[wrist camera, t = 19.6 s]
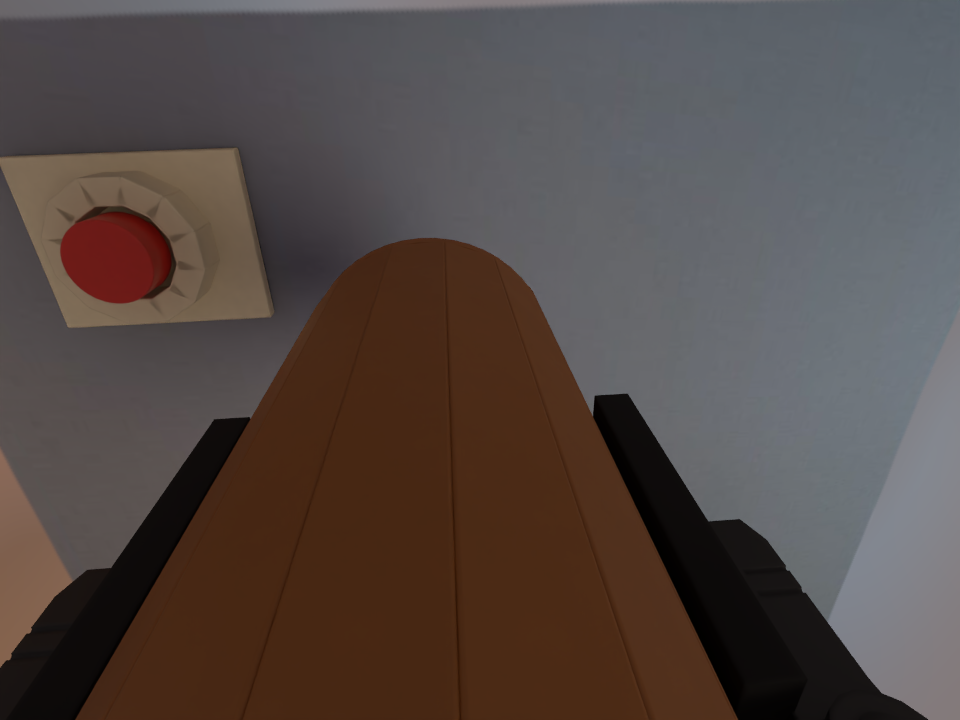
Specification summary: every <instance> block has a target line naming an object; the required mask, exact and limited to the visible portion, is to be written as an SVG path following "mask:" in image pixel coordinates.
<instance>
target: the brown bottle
mask: <svg viewBox="0 0 960 720" xmlns="http://www.w3.org/2000/svg"><path fill="white" fill-rule="evenodd" d="M75 720H738V719H737V717H736V714H735V712H734V710H733V708H732V706H731V704H730V702H729V700H728V698H727V696H726V694H725V692H724V689H723V687H722V685H721V683H720V681H719V679H718V677H717V675H716V673H715V671H714V669H713V666H712V664H711V662H710V660H709V658H708V656H707V654H706V652H705V650H704V648H703V646H702V643H701V641H700V639H699V637H698V635H697V633H696V631H695V629H694V627H693V625H692V623H691V621H690V618H689V616H688V614H687V612H686V610H685V608H684V606H683V604H682V602H681V600H680V598H679V595H678V593H677V591H676V589H675V587H674V585H673V583H672V581H671V579H670V577H669V575H668V573H667V570H666V568H665V566H664V564H663V562H662V560H661V558H660V556H659V554H658V552H657V550H656V547H655V545H654V543H653V541H652V539H651V537H650V535H649V533H648V531H647V529H646V527H645V525H644V522H643V520H642V518H641V516H640V514H639V512H638V510H637V508H636V506H635V504H634V502H633V499H632V497H631V495H630V493H629V491H628V489H627V487H626V485H625V483H624V481H623V479H622V476H621V474H620V472H619V470H618V468H617V466H616V464H615V462H614V460H613V458H612V456H611V454H610V451H609V449H608V447H607V445H606V443H605V441H604V439H603V437H602V435H601V433H600V431H599V428H598V426H597V424H596V422H595V420H594V418H593V416H592V414H591V412H590V410H589V408H588V406H587V403H586V401H585V399H584V397H583V395H582V393H581V391H580V389H579V387H578V385H577V383H576V380H575V378H574V376H573V374H572V372H571V370H570V368H569V366H568V364H567V362H566V360H565V357H564V355H563V353H562V351H561V349H560V347H559V345H558V343H557V341H556V339H555V337H554V335H553V332H552V330H551V328H550V326H549V324H548V322H547V320H546V318H545V316H544V314H543V312H542V309H541V307H540V305H539V303H538V301H537V299H536V297H535V295H534V293H533V291H532V290H531V288H530V287H529V286H528V285H527V284H526V283H525V282H524V280H523V279H522V278H521V277H520V276H519V275H518V274H517V273H516V272H515V271H514V270H513V269H512V268H511V267H510V266H508V265H507V264H506V263H504V262H503V261H502V260H500V259H499V258H497V257H496V256H494V255H492V254H490V253H488V252H487V251H485V250H483V249H480V248H478V247H475V246H472V245H470V244H467V243H463V242H459V241H455V240H448V239H440V238H417V239H410V240H404V241H399V242H396V243H392V244H389V245H385V246H383V247H381V248H379V249H376V250H374V251H372V252H370V253H368V254H366V255H365V256H363V257H362V258H360V259H358V260H357V261H355V262H354V263H353V264H352V265H351V266H349V267H348V268H347V269H346V270H345V271H344V272H343V273H342V274H341V275H340V276H339V277H338V278H337V279H336V280H335V282H334V283H333V284H332V286H331V287H330V289H329V290H328V292H327V293H326V295H325V296H324V297H323V298H322V300H321V301H320V302H319V304H318V305H317V306H316V308H315V310H314V311H313V313H312V315H311V316H310V318H309V320H308V322H307V323H306V325H305V327H304V328H303V330H302V332H301V334H300V335H299V337H298V339H297V340H296V342H295V344H294V346H293V347H292V349H291V351H290V352H289V354H288V356H287V358H286V359H285V361H284V363H283V364H282V366H281V368H280V370H279V371H278V373H277V375H276V376H275V378H274V380H273V382H272V383H271V385H270V387H269V388H268V390H267V392H266V394H265V395H264V397H263V399H262V400H261V402H260V404H259V406H258V407H257V409H256V411H255V412H254V414H253V416H252V418H251V419H250V421H249V423H248V424H247V426H246V428H245V430H244V431H243V433H242V435H241V436H240V438H239V440H238V442H237V443H236V445H235V447H234V448H233V450H232V452H231V454H230V455H229V457H228V459H227V460H226V462H225V464H224V466H223V467H222V469H221V471H220V472H219V474H218V476H217V478H216V479H215V481H214V483H213V484H212V486H211V488H210V490H209V491H208V493H207V495H206V496H205V498H204V500H203V502H202V503H201V505H200V507H199V508H198V510H197V512H196V514H195V515H194V517H193V519H192V520H191V522H190V524H189V526H188V527H187V529H186V531H185V532H184V534H183V536H182V538H181V539H180V541H179V543H178V544H177V546H176V548H175V550H174V551H173V553H172V555H171V556H170V558H169V560H168V562H167V563H166V565H165V567H164V568H163V570H162V572H161V574H160V575H159V577H158V579H157V580H156V582H155V584H154V586H153V587H152V589H151V591H150V592H149V594H148V596H147V598H146V599H145V601H144V603H143V604H142V606H141V608H140V610H139V611H138V613H137V615H136V616H135V618H134V620H133V622H132V623H131V625H130V627H129V628H128V630H127V632H126V634H125V635H124V637H123V639H122V640H121V642H120V644H119V646H118V647H117V649H116V651H115V652H114V654H113V656H112V658H111V659H110V661H109V663H108V664H107V666H106V668H105V670H104V671H103V673H102V675H101V676H100V678H99V680H98V682H97V683H96V685H95V687H94V688H93V690H92V692H91V694H90V695H89V697H88V699H87V700H86V702H85V704H84V706H83V707H82V709H81V711H80V712H79V714H78V716H77V718H76V719H75Z"/></svg>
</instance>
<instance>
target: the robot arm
mask: <svg viewBox="0 0 960 720" xmlns="http://www.w3.org/2000/svg"><path fill="white" fill-rule="evenodd" d="M593 418H594V420H595V422H596V424H597V426H598V428H599V431H600V433H601V435H602V437H603V439H604V441H605V443H606V445H607V447H608V449H609V451H610V454H611V456H612V458H613V460H614V462H615V464H616V466H617V468H618V470H619V472H620V474H621V476H622V479H623V481H624V483H625V485H626V487H627V489H628V491H629V493H630V495H631V497H632V499H633V502H634V504H635V506H636V508H637V510H638V512H639V514H640V516H641V518H642V520H643V522H644V525H645V527H646V529H647V531H648V533H649V535H650V537H651V539H652V541H653V543H654V545H655V547H656V550H657V552H658V554H659V556H660V558H661V560H662V562H663V564H664V566H665V568H666V570H667V573H668V575H669V577H670V579H671V581H672V583H673V585H674V587H675V589H676V591H677V593H678V595H679V598H680V600H681V602H682V604H683V606H684V608H685V610H686V612H687V614H688V616H689V618H690V621H691V623H692V625H693V627H694V629H695V631H696V633H697V635H698V637H699V639H700V641H701V643H702V646H703V648H704V650H705V652H706V654H707V656H708V658H709V660H710V662H711V664H712V666H713V669H714V671H715V673H716V675H717V677H718V679H719V681H720V683H721V685H722V687H723V689H724V692H725V694H726V696H727V698H728V700H729V702H730V704H731V706H732V708H733V710H734V712H735V714H736V717H737V719H738V720H928V719H927V718H925V717H924V716H922V715H921V714H919V713H918V712H916V711H915V710H914V709H912V708H911V707H909V706H908V705H906V704H905V703H903V702H902V701H899V700H897V699H894V698H892V697H889V696H887V695H884V694H882V693H881V692H880V691H879V690H878V689H877V687H876V686H875V685H874V684H873V683H872V682H871V680H870V679H869V678H868V677H867V675H866V674H865V673H864V671H863V670H862V669H861V667H860V666H859V665H858V663H857V662H856V660H855V659H854V658H853V657H852V656H851V654H850V652H849V651H848V650H847V648H846V647H845V646H844V644H843V643H842V642H841V640H840V639H839V637H838V636H837V635H836V634H835V632H834V631H833V629H832V628H831V627H830V625H829V624H828V622H827V621H826V620H825V618H824V617H823V616H822V614H821V613H820V612H819V610H818V609H817V608H816V606H815V605H814V603H813V602H812V601H811V599H810V598H809V597H808V595H807V594H806V593H803V592H802V589H801V586H800V584H799V583H798V582H797V580H796V579H795V578H794V576H793V575H792V574H791V572H790V571H787V570H786V565H785V564H784V563H783V561H782V560H781V559H780V557H779V556H778V555H777V553H776V552H775V551H774V549H773V548H772V546H771V545H770V544H769V542H768V541H767V540H766V539H765V538H763V537H762V536H761V535H760V534H758V533H757V532H756V531H754V530H753V529H752V528H750V527H749V526H748V525H747V524H745V523H744V522H743V521H741V520H740V519H737V520H723V521H710V522H708V520H707V519H706V517H705V516H704V514H703V512H702V511H701V509H700V508H699V506H698V504H697V503H696V501H695V500H694V498H693V497H692V495H691V493H690V492H689V490H688V489H687V487H686V485H685V484H684V482H683V481H682V479H681V478H680V476H679V474H678V473H677V471H676V470H675V468H674V466H673V465H672V463H671V462H670V460H669V459H668V457H667V455H666V454H665V452H664V451H663V449H662V447H661V446H660V444H659V443H658V441H657V440H656V438H655V436H654V435H653V433H652V432H651V430H650V428H649V427H648V425H647V424H646V422H645V421H644V419H643V417H642V416H641V414H640V413H639V411H638V409H637V408H636V406H635V405H634V403H633V401H632V400H631V398H630V397H629V395H628V394H615V395H598V396H595V399H594V412H593ZM249 421H250V417H246V418H230V419H214V421H213V422H212V424H211V425H210V426H209V428H208V429H207V431H206V432H205V434H204V435H203V437H202V438H201V439H200V441H199V442H198V444H197V445H196V447H195V448H194V449H193V451H192V452H191V454H190V455H189V457H188V458H187V460H186V461H185V462H184V464H183V465H182V467H181V468H180V470H179V471H178V473H177V474H176V475H175V477H174V478H173V480H172V481H171V483H170V484H169V485H168V487H167V488H166V490H165V491H164V493H163V494H162V496H161V497H160V498H159V500H158V501H157V503H156V504H155V506H154V507H153V509H152V510H151V511H150V513H149V514H148V516H147V517H146V519H145V520H144V521H143V523H142V524H141V526H140V527H139V529H138V530H137V532H136V533H135V534H134V536H133V537H132V539H131V540H130V542H129V543H128V545H127V546H126V547H125V549H124V550H123V552H122V553H121V555H120V556H119V557H118V559H117V560H116V562H115V563H114V565H113V566H112V568H106V569H93V570H87V571H85V572H84V573H83V574H82V575H81V576H79V577H78V578H77V579H76V580H75V581H73V582H72V583H71V584H70V585H69V586H67V587H66V588H65V589H64V590H62V591H61V592H60V593H59V594H58V595H56V596H55V597H54V599H53V600H52V601H51V603H50V604H49V605H48V606H47V608H46V609H45V610H44V612H43V613H42V614H41V616H40V617H39V618H38V620H37V621H36V622H35V623H34V625H33V626H32V627H31V628H32V631H31V633H29V634H26V635H25V637H24V638H23V639H22V641H21V642H20V643H19V644H18V646H17V647H16V648H15V650H14V651H13V652H12V653H11V654H12V657H11V659H10V660H7V661H6V662H5V663H4V664H3V665H2V666H1V668H0V720H75V719H76V718H77V716H78V714H79V712H80V711H81V709H82V707H83V706H84V704H85V702H86V700H87V699H88V697H89V695H90V694H91V692H92V690H93V688H94V687H95V685H96V683H97V682H98V680H99V678H100V676H101V675H102V673H103V671H104V670H105V668H106V666H107V664H108V663H109V661H110V659H111V658H112V656H113V654H114V652H115V651H116V649H117V647H118V646H119V644H120V642H121V640H122V639H123V637H124V635H125V634H126V632H127V630H128V628H129V627H130V625H131V623H132V622H133V620H134V618H135V616H136V615H137V613H138V611H139V610H140V608H141V606H142V604H143V603H144V601H145V599H146V598H147V596H148V594H149V592H150V591H151V589H152V587H153V586H154V584H155V582H156V580H157V579H158V577H159V575H160V574H161V572H162V570H163V568H164V567H165V565H166V563H167V562H168V560H169V558H170V556H171V555H172V553H173V551H174V550H175V548H176V546H177V544H178V543H179V541H180V539H181V538H182V536H183V534H184V532H185V531H186V529H187V527H188V526H189V524H190V522H191V520H192V519H193V517H194V515H195V514H196V512H197V510H198V508H199V507H200V505H201V503H202V502H203V500H204V498H205V496H206V495H207V493H208V491H209V490H210V488H211V486H212V484H213V483H214V481H215V479H216V478H217V476H218V474H219V472H220V471H221V469H222V467H223V466H224V464H225V462H226V460H227V459H228V457H229V455H230V454H231V452H232V450H233V448H234V447H235V445H236V443H237V442H238V440H239V438H240V436H241V435H242V433H243V431H244V430H245V428H246V426H247V424H248V423H249Z"/></svg>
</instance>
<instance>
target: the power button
mask: <svg viewBox="0 0 960 720" xmlns="http://www.w3.org/2000/svg"><path fill="white" fill-rule="evenodd" d="M60 256H61V261H62V264H63V266H64V268H65V271H66V272H67V274H68V275H69V277H70V278H71V279H72V281H73V282H74V283H75V284H76V285H77V286H78V287H79V288H80V289H82V290H83V291H84V292H86V293H87V294H89V295H91V296H92V297H94V298H96V299H99V300H102V301H105V302H109V303H116V304H124V303H130V302H134V301H136V300H139V299H140V298H142V297H144V296H145V295H147V294H148V293H149V292H151V291H152V290H154V289H155V288H157V287H158V286H160V285H161V284H162V283H163V282H164V281H165V280H166V279H167V277H168V275H169V273H170V269H171V254H170V250H169V247H168V245H167V243H166V241H165V239H164V238H163V236H162V235H161V234H160V233H159V231H158V230H157V229H156V228H155V227H154V226H152V225H151V224H150V223H148V222H147V221H145V220H144V219H142V218H140V217H138V216H135V215H133V214H129V213H125V212H107V213H103V214H101V215H98V216H95V217H92V218H89V219H86V220H83V221H81V222H78V223H76V224H74V225H73V226H71V227H70V228H69V229H68V230H67V232H66V233H65V234H64V236H63V238H62V241H61V246H60Z"/></svg>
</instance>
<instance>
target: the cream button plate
mask: <svg viewBox="0 0 960 720" xmlns="http://www.w3.org/2000/svg"><path fill="white" fill-rule="evenodd" d="M0 166H1V169H2V171H3V174H4V176H5V178H6V181H7V183H8V185H9V188H10V190H11V193H12V195H13V197H14V200H15V202H16V205H17V207H18V209H19V212H20V214H21V216H22V219H23V221H24V224H25V226H26V228H27V231H28V233H29V236H30V238H31V240H32V243H33V245H34V248H35V250H36V252H37V255H38V257H39V259H40V262H41V264H42V267H43V269H44V271H45V274H46V276H47V279H48V281H49V283H50V286H51V288H52V290H53V293H54V295H55V298H56V300H57V302H58V305H59V307H60V310H61V312H62V314H63V317H64V319H65V321H66V324H67V326H68V328H78V327H97V326H116V325H135V324H154V323H173V322H192V321H211V320H230V319H248V318H267V317H271V316H272V315H273V314H274V308H273V303H272V299H271V294H270V290H269V285H268V281H267V276H266V272H265V267H264V263H263V258H262V254H261V249H260V245H259V240H258V236H257V231H256V227H255V222H254V218H253V213H252V209H251V204H250V200H249V195H248V191H247V186H246V182H245V177H244V173H243V168H242V164H241V159H240V155H239V150H238V148H209V149H183V150H157V151H130V152H104V153H77V154H51V155H24V156H5V157H0ZM107 212H125V213H129V214H133V215H135V216H138V217H140V218H142V219H144V220H145V221H147V222H148V223H150V224H151V225H152V226H154V227H155V228H156V229H157V230H158V231H159V233H160V234H161V235H162V236H163V238H164V239H165V241H166V243H167V245H168V247H169V250H170V254H171V269H170V273H169V275H168V277H167V279H166V280H165V281H164V282H163V283H162V284H161V285H160V286H158V287H157V288H155V289H154V290H152V291H151V292H149V293H148V294H147V295H145V296H144V297H142V298H140V299H139V300H136V301H134V302H130V303H124V304H116V303H109V302H105V301H102V300H99V299H96V298H94V297H92V296H91V295H89V294H87V293H86V292H84V291H83V290H82V289H80V288H79V287H78V286H77V285H76V284H75V283H74V282H73V281H72V279H71V278H70V277H69V275H68V274H67V272H66V271H65V268H64V266H63V264H62V261H61V256H60V246H61V241H62V238H63V236H64V234H65V233H66V232H67V230H68V229H69V228H70V227H71V226H73V225H74V224H76V223H78V222H81V221H83V220H86V219H89V218H92V217H95V216H98V215H101V214H103V213H107Z"/></svg>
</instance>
